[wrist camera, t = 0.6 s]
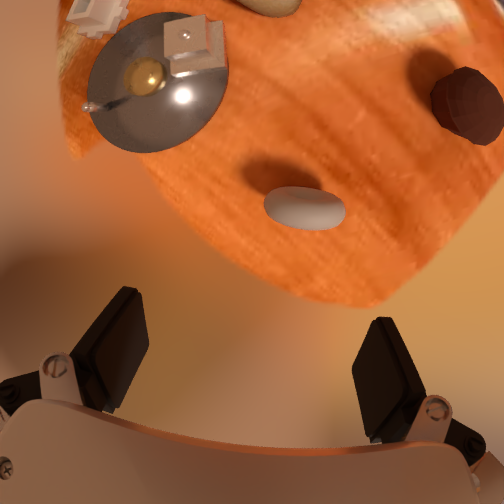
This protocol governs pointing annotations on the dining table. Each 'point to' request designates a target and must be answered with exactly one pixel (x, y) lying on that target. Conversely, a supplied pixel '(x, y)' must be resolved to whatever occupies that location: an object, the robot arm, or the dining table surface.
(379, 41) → the dining table surface
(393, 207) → the dining table surface
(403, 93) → the dining table surface
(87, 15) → the hollow square tube block
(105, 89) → the carrier
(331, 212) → the donut
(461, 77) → the muffin
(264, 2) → the bread roll
